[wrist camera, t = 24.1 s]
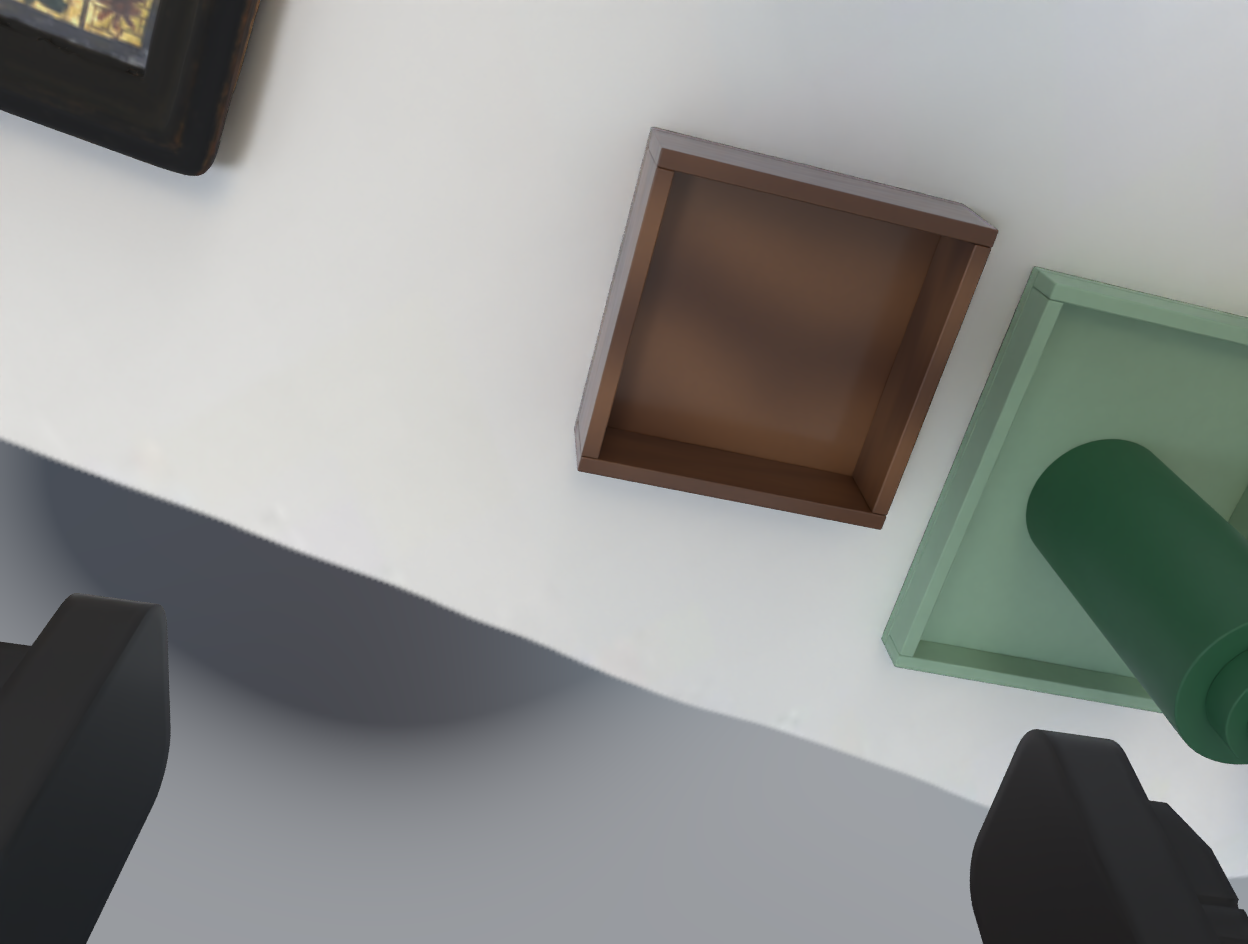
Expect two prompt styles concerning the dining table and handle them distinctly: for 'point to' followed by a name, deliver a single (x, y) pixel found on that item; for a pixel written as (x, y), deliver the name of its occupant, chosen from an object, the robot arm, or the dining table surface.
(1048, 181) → the dining table surface
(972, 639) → the tray
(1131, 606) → the green bottle
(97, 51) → the religious icon
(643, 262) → the crate
